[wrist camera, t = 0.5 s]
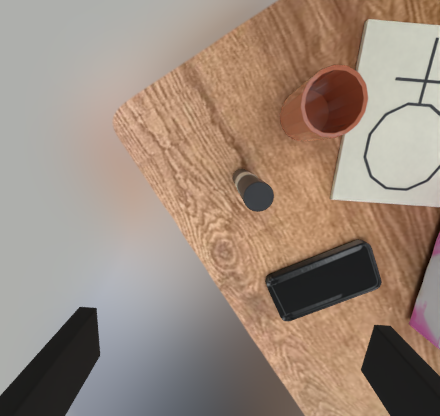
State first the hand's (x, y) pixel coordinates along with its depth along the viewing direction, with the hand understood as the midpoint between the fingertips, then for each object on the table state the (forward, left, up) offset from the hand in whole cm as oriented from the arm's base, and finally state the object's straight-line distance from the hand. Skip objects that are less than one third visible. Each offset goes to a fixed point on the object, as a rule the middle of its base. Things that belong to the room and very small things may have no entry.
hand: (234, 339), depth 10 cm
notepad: (-14, +22, -20) cm, 32 cm away
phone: (+8, +15, -20) cm, 26 cm away
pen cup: (-14, +9, -20) cm, 26 cm away
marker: (-6, +2, -20) cm, 21 cm away
